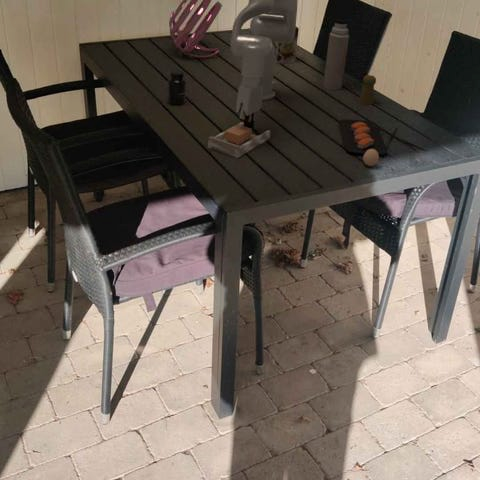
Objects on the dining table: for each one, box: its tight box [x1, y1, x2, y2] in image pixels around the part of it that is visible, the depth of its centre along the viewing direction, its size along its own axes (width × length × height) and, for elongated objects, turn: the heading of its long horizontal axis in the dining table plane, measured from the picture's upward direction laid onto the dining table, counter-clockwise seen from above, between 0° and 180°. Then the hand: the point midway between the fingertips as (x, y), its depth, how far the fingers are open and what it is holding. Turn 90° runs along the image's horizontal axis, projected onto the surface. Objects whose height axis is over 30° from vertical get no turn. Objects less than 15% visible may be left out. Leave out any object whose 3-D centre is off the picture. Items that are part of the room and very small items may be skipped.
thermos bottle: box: [322, 18, 350, 91], centre depth 277 cm, size 8×8×28 cm
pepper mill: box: [357, 74, 377, 106], centre depth 268 cm, size 6×6×11 cm
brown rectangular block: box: [225, 124, 253, 146], centre depth 228 cm, size 8×6×4 cm
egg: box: [363, 149, 380, 167], centre depth 220 cm, size 5×5×6 cm
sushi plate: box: [338, 118, 428, 156], centre depth 239 cm, size 29×30×4 cm
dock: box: [207, 121, 271, 159], centre depth 230 cm, size 20×12×5 cm, turn 146°
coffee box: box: [273, 26, 299, 64], centre depth 306 cm, size 9×6×16 cm
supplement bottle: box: [167, 70, 187, 106], centre depth 256 cm, size 7×7×12 cm
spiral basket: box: [168, 0, 223, 59], centre depth 305 cm, size 28×28×27 cm
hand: (248, 130), depth 233 cm, fingers closed
